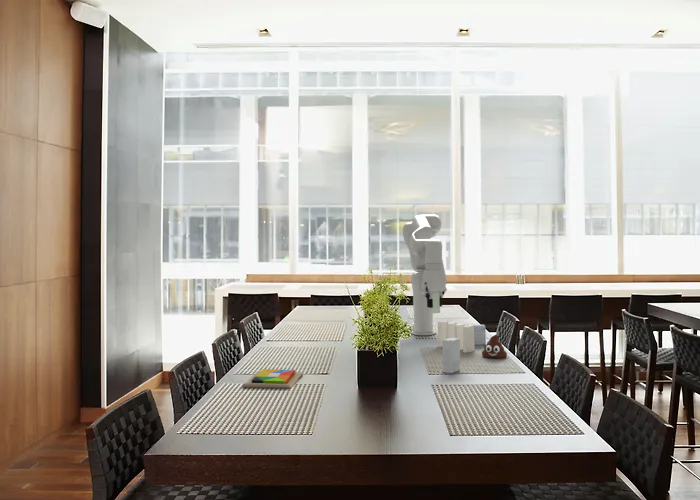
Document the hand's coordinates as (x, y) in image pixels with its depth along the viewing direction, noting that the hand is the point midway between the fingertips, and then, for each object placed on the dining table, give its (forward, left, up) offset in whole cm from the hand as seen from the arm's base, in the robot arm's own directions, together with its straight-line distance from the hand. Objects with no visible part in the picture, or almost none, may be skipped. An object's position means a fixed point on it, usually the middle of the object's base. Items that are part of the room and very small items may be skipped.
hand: (434, 306), depth 268 cm
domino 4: (+16, 0, -17) cm, 23 cm away
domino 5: (+21, 0, -17) cm, 27 cm away
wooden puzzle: (+11, -88, -18) cm, 90 cm away
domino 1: (0, 0, -3) cm, 3 cm away
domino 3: (+10, 0, -17) cm, 20 cm away
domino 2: (+5, 0, -17) cm, 18 cm away
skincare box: (+41, -30, -18) cm, 54 cm away
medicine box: (+12, +14, -18) cm, 25 cm away
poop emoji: (+35, 0, -18) cm, 39 cm away
